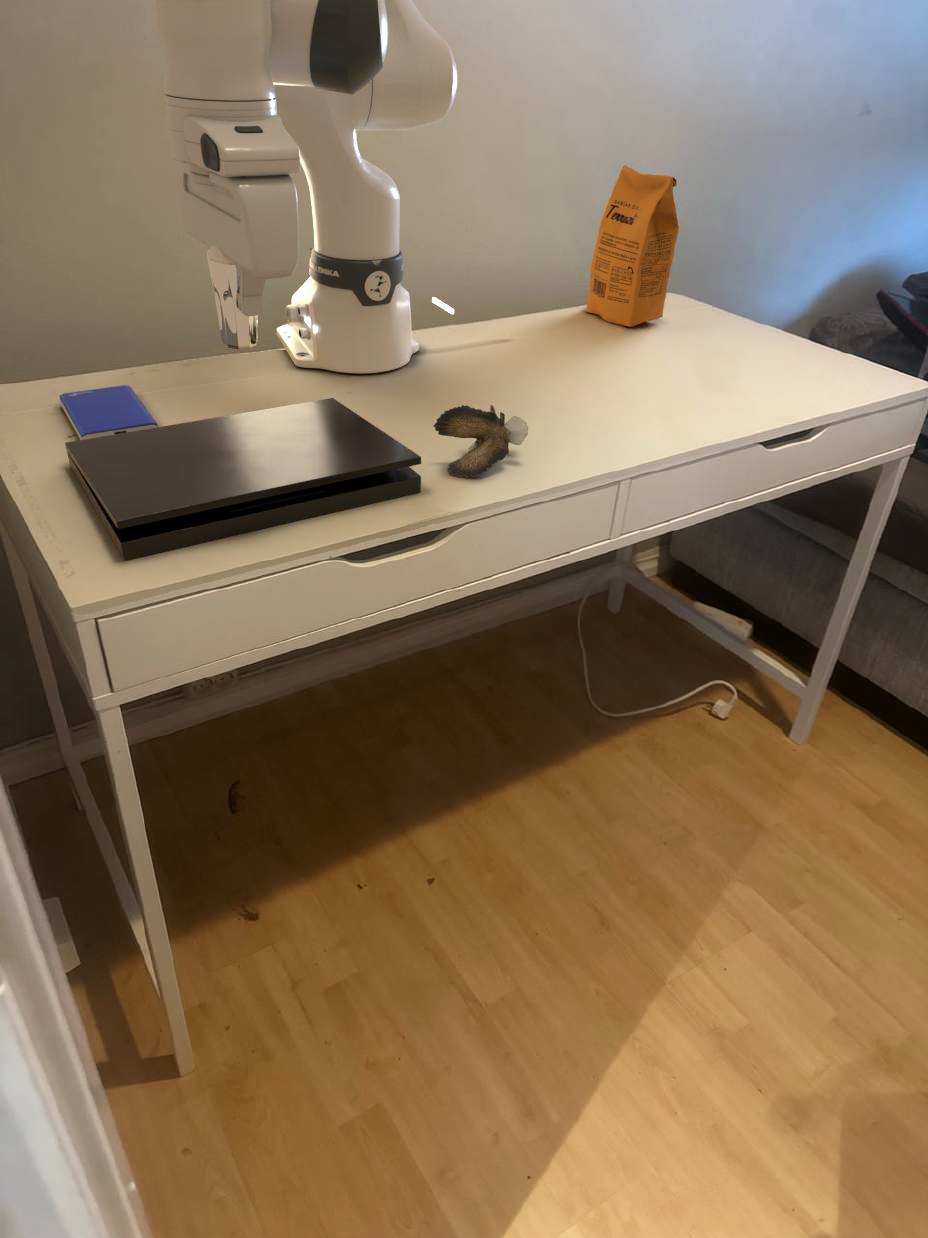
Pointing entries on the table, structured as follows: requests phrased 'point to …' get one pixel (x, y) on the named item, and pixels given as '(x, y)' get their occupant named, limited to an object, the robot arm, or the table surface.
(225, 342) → the milkshake
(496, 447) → the eagle figurine
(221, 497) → the laptop screen
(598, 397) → the table surface
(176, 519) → the laptop
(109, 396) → the hard drive
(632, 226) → the coffee package
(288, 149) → the robot arm
